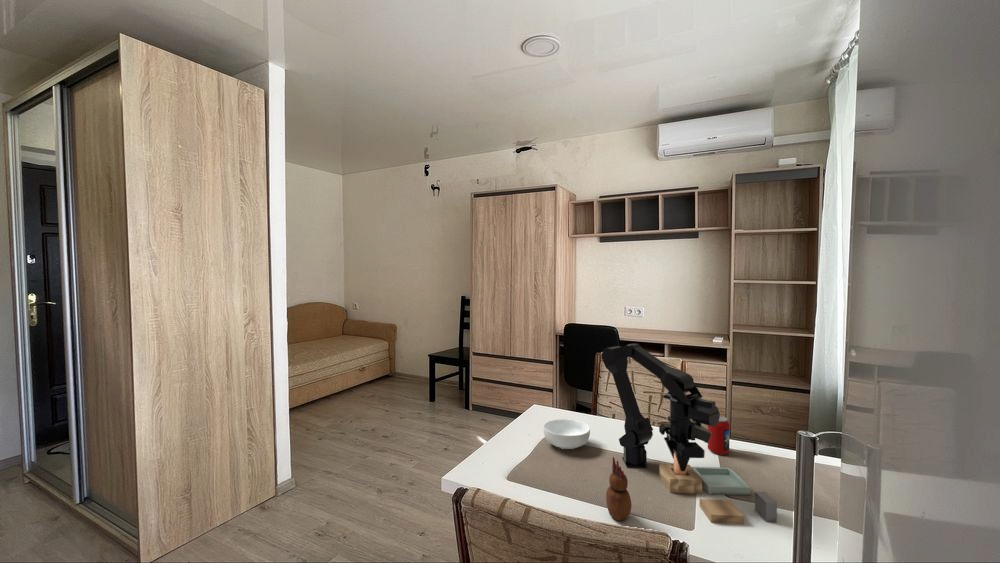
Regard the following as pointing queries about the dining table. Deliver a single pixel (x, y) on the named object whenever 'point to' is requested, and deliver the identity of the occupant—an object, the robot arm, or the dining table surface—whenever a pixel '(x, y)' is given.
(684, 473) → the dowel
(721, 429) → the beverage can
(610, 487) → the wooden figurine
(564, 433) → the cereal bowl
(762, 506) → the grey rectangular block
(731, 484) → the tray
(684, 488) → the socket block
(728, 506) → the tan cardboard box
